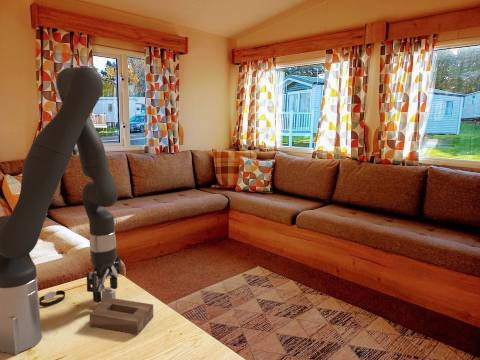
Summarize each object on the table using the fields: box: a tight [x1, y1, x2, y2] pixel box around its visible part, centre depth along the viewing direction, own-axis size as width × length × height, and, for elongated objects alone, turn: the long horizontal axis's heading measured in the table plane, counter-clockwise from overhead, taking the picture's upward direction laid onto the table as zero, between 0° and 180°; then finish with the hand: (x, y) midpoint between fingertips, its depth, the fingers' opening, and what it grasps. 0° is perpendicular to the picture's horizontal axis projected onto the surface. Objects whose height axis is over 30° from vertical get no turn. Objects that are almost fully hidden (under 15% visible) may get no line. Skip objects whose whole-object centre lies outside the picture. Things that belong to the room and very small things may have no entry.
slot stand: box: [89, 298, 155, 336], centre depth 101 cm, size 9×15×4 cm, turn 76°
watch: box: [39, 290, 66, 308], centre depth 111 cm, size 8×5×4 cm, turn 141°
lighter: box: [97, 277, 117, 304], centre depth 111 cm, size 7×2×8 cm, turn 67°
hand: (106, 294), depth 111 cm, fingers open, 8 cm apart
